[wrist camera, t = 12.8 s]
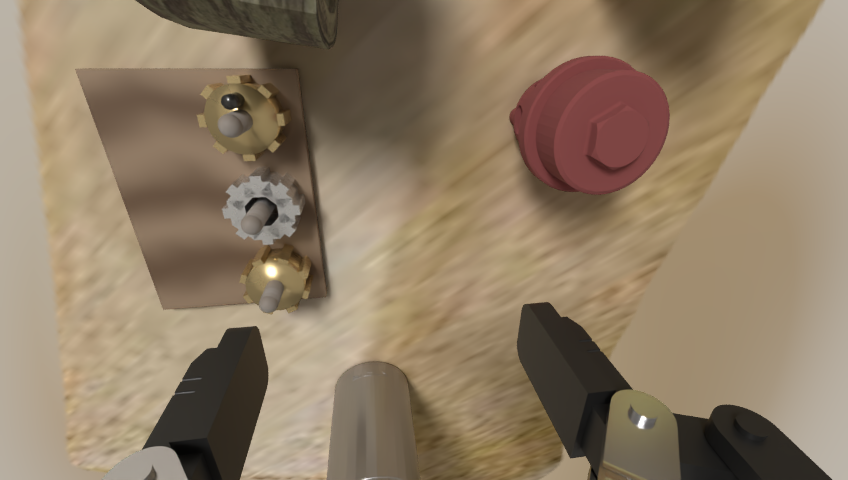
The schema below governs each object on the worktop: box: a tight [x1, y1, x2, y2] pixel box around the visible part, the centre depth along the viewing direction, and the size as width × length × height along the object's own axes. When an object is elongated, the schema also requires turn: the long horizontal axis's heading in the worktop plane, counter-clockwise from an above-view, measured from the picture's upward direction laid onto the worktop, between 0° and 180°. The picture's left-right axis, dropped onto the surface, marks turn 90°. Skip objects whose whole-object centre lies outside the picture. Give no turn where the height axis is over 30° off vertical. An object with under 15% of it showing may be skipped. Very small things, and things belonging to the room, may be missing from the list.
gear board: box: [75, 69, 327, 313], centre depth 31 cm, size 22×16×7 cm
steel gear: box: [222, 167, 305, 245], centre depth 33 cm, size 6×6×3 cm
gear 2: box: [239, 244, 313, 314], centre depth 36 cm, size 6×6×3 cm
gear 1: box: [197, 75, 292, 161], centre depth 29 cm, size 6×6×5 cm
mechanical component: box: [510, 56, 670, 195], centre depth 30 cm, size 12×10×10 cm
